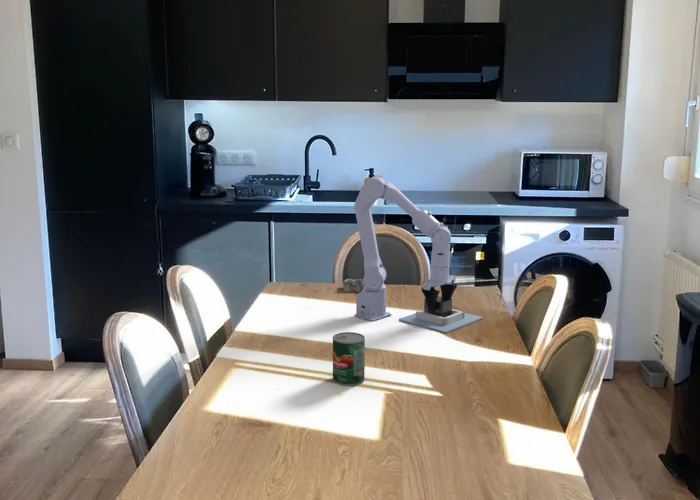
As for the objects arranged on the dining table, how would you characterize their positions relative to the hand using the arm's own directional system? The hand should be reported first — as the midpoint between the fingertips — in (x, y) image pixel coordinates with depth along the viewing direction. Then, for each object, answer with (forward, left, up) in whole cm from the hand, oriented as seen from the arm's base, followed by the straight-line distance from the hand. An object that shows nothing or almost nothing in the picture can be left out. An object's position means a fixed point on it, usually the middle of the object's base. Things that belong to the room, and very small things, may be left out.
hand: (438, 308), depth 226 cm
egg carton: (+9, +42, -4) cm, 43 cm away
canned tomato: (-56, -13, -4) cm, 58 cm away
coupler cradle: (0, 0, -4) cm, 4 cm away
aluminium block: (0, 0, -3) cm, 3 cm away
